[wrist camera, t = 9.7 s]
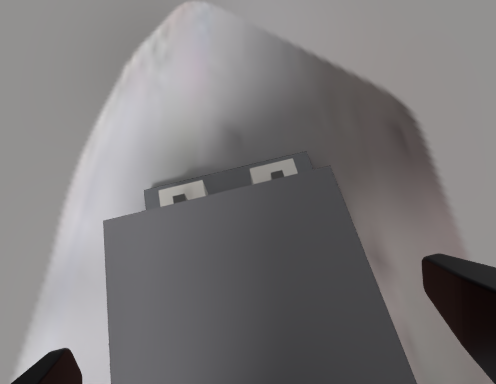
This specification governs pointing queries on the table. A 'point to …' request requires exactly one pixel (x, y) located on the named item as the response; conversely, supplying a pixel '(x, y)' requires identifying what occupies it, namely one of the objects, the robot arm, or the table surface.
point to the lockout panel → (226, 180)
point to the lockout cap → (248, 291)
